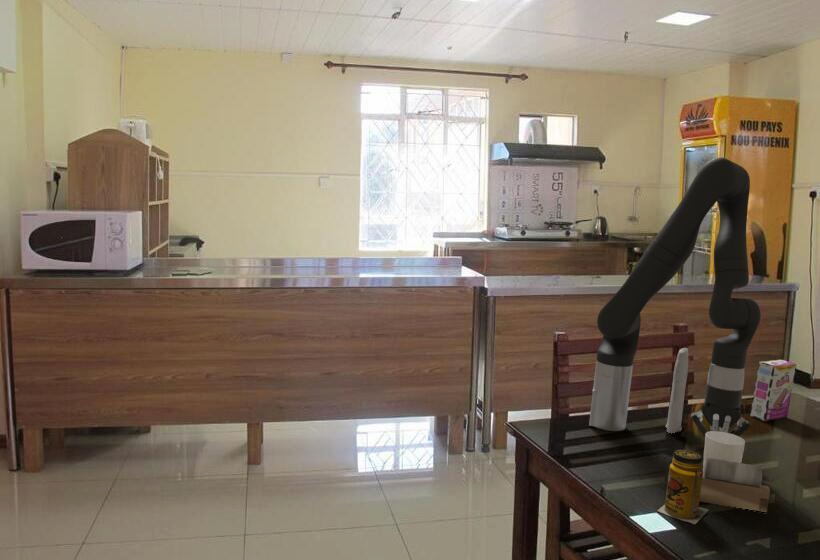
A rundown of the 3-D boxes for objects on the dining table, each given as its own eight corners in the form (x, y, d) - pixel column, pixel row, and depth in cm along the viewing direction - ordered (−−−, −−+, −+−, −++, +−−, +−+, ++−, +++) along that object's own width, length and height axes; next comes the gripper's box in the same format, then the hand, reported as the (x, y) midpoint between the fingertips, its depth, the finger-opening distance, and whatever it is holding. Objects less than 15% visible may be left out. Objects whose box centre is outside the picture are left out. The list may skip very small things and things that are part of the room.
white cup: (738, 479, 152) (745, 436, 151) (739, 492, 145) (745, 447, 144) (700, 470, 156) (706, 428, 154) (698, 483, 148) (704, 439, 147)
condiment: (656, 511, 134) (664, 453, 132) (671, 498, 140) (679, 442, 138) (694, 525, 129) (703, 465, 127) (708, 511, 135) (717, 453, 134)
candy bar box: (765, 422, 194) (774, 366, 192) (749, 416, 198) (757, 361, 196) (788, 417, 200) (797, 363, 197) (772, 412, 204) (780, 358, 202)
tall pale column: (669, 421, 188) (679, 343, 185) (685, 425, 186) (695, 346, 183) (661, 432, 179) (671, 350, 176) (677, 436, 177) (688, 353, 174)
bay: (683, 468, 156) (688, 430, 155) (752, 480, 152) (758, 441, 151) (691, 502, 139) (697, 459, 138) (770, 516, 135) (776, 473, 134)
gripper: (695, 384, 155) (686, 457, 158) (760, 392, 152) (749, 467, 154) (692, 376, 162) (683, 446, 165) (753, 384, 159) (743, 455, 161)
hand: (715, 456), depth 159 cm, fingers closed
